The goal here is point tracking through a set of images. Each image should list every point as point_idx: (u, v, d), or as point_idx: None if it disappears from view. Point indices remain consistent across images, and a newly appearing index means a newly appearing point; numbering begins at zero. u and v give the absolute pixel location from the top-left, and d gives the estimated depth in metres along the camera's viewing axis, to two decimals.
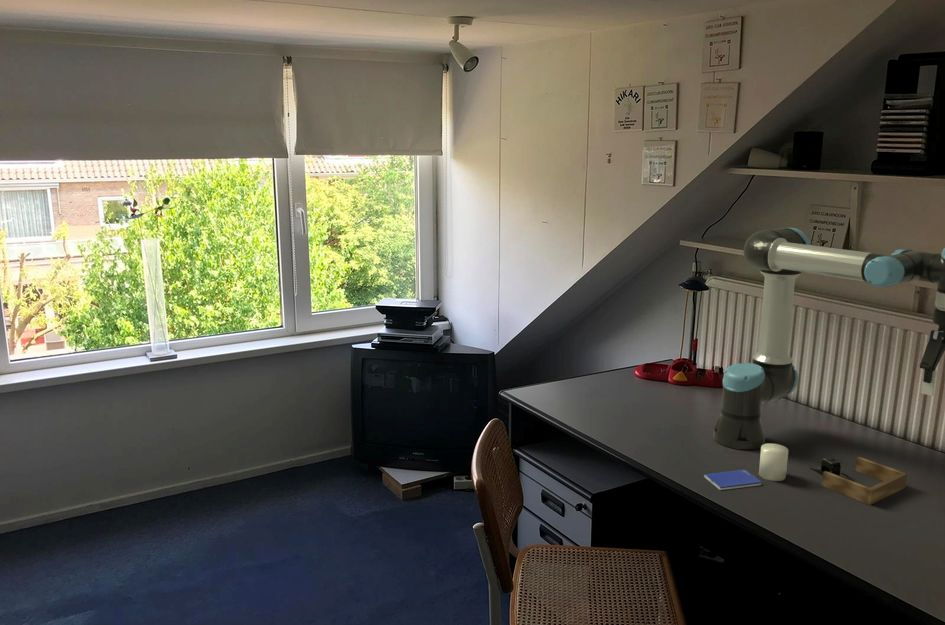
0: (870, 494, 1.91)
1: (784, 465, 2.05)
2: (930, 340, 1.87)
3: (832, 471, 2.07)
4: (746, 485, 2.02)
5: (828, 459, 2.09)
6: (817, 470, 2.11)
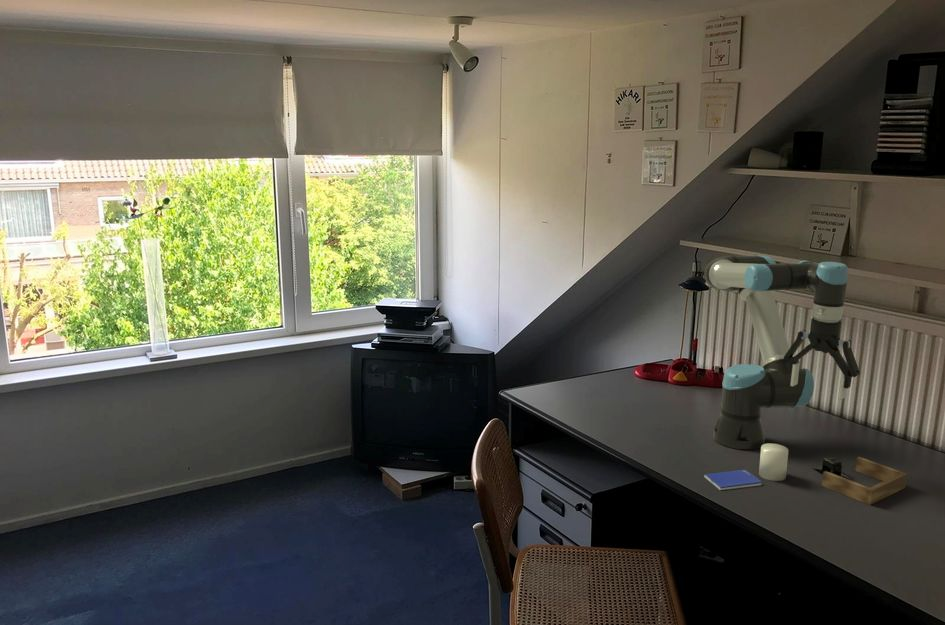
0: (870, 494, 1.91)
1: (784, 465, 2.05)
2: None
3: (833, 471, 2.07)
4: (746, 485, 2.02)
5: (829, 459, 2.09)
6: (818, 470, 2.11)
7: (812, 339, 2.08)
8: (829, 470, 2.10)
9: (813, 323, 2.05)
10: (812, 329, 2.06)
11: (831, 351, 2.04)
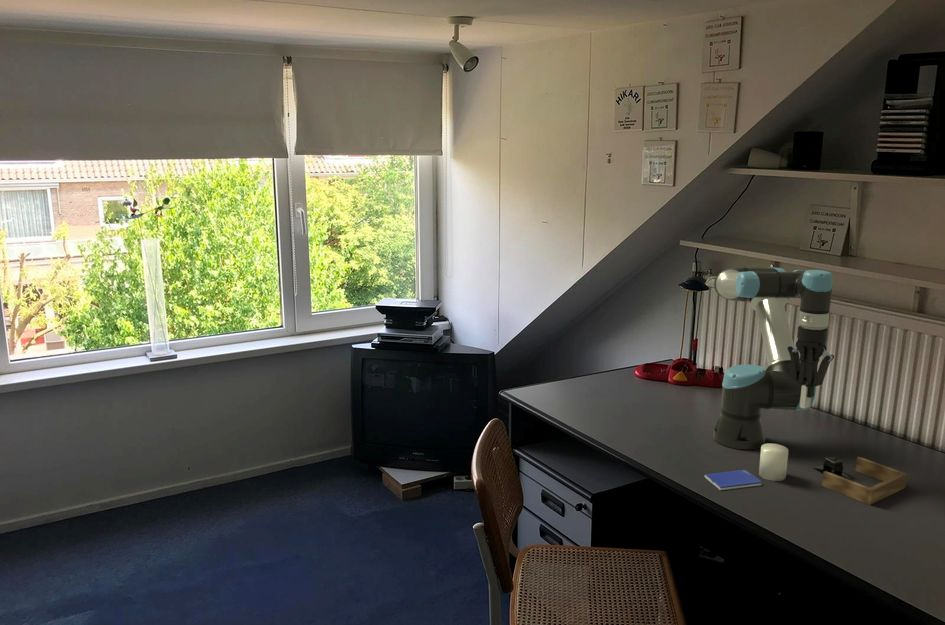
0: (870, 494, 1.91)
1: (784, 465, 2.05)
2: None
3: (834, 470, 2.07)
4: (746, 485, 2.02)
5: (830, 458, 2.09)
6: (819, 469, 2.11)
7: (799, 346, 2.10)
8: (830, 470, 2.10)
9: (799, 330, 2.08)
10: (798, 336, 2.08)
11: (811, 359, 2.07)
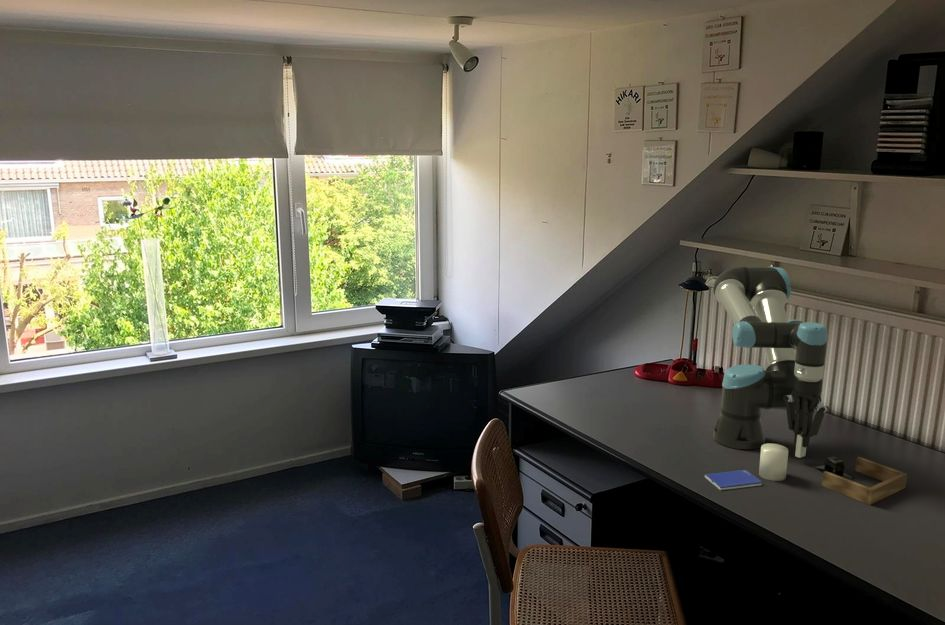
0: (870, 494, 1.91)
1: (784, 465, 2.05)
2: None
3: (836, 470, 2.07)
4: (746, 485, 2.02)
5: (831, 458, 2.09)
6: (821, 469, 2.11)
7: (795, 397, 2.14)
8: (831, 469, 2.10)
9: (794, 381, 2.11)
10: (793, 387, 2.11)
11: (806, 410, 2.11)
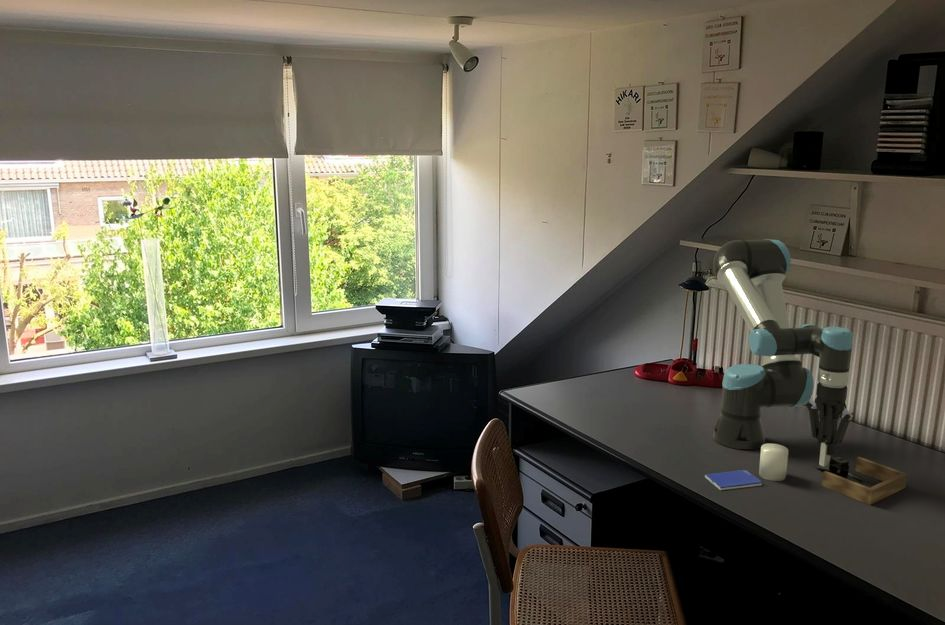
0: (870, 494, 1.91)
1: (784, 465, 2.05)
2: None
3: (840, 471, 2.06)
4: (746, 485, 2.02)
5: (836, 459, 2.09)
6: (825, 470, 2.11)
7: (819, 403, 2.08)
8: (836, 470, 2.09)
9: (818, 388, 2.05)
10: (817, 393, 2.05)
11: (830, 417, 2.05)
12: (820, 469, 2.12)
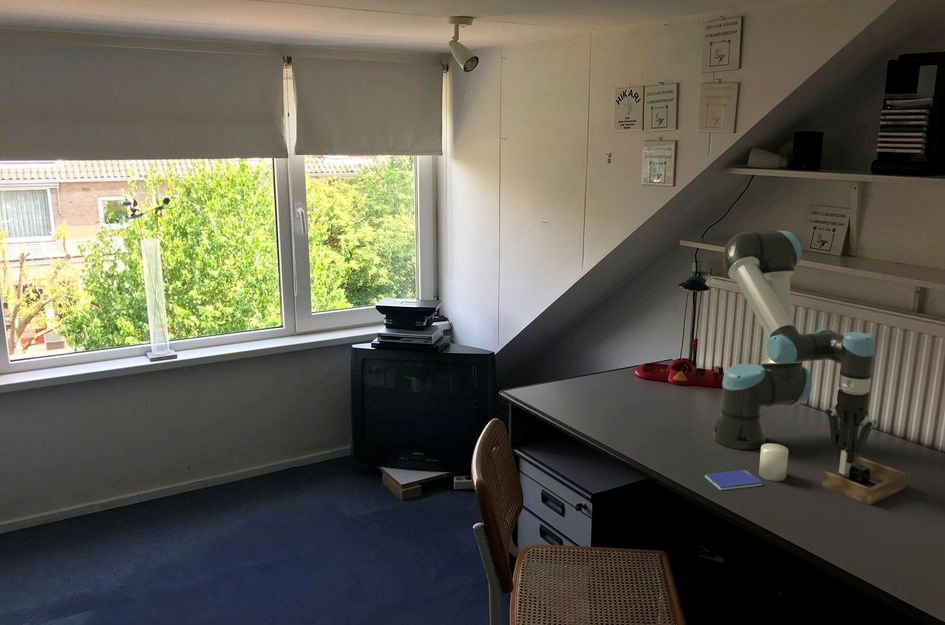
0: (870, 494, 1.91)
1: (784, 465, 2.05)
2: None
3: (863, 478, 2.02)
4: (747, 485, 2.02)
5: (857, 466, 2.04)
6: (845, 477, 2.06)
7: (839, 410, 2.03)
8: (856, 477, 2.05)
9: (839, 394, 2.00)
10: (838, 400, 2.01)
11: (851, 425, 2.00)
12: None
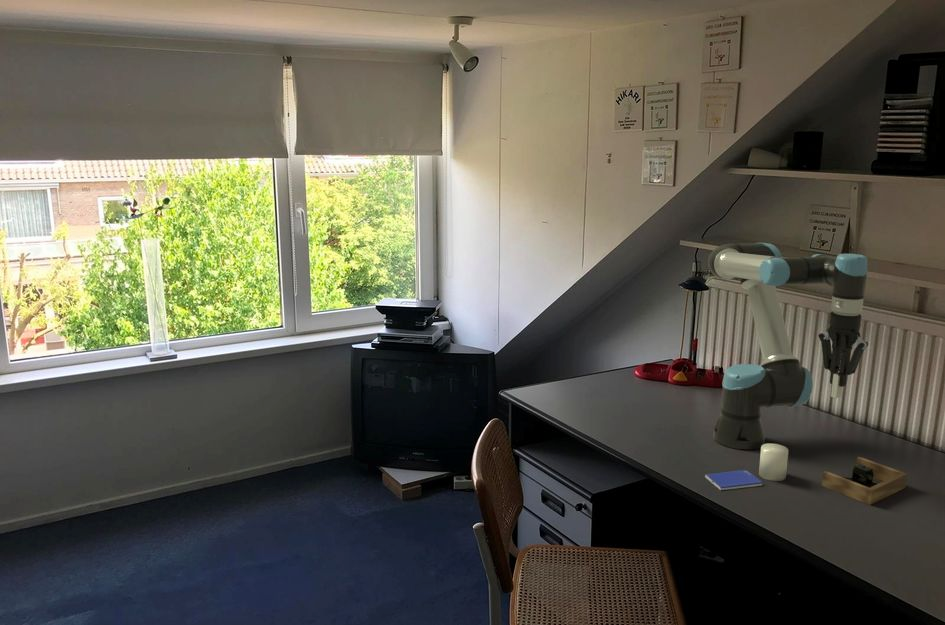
0: (870, 494, 1.91)
1: (784, 465, 2.05)
2: None
3: (866, 479, 2.02)
4: (747, 485, 2.02)
5: (860, 466, 2.04)
6: (848, 478, 2.06)
7: (831, 333, 2.02)
8: (859, 478, 2.05)
9: (831, 316, 1.99)
10: (830, 323, 2.00)
11: (844, 347, 1.99)
12: None
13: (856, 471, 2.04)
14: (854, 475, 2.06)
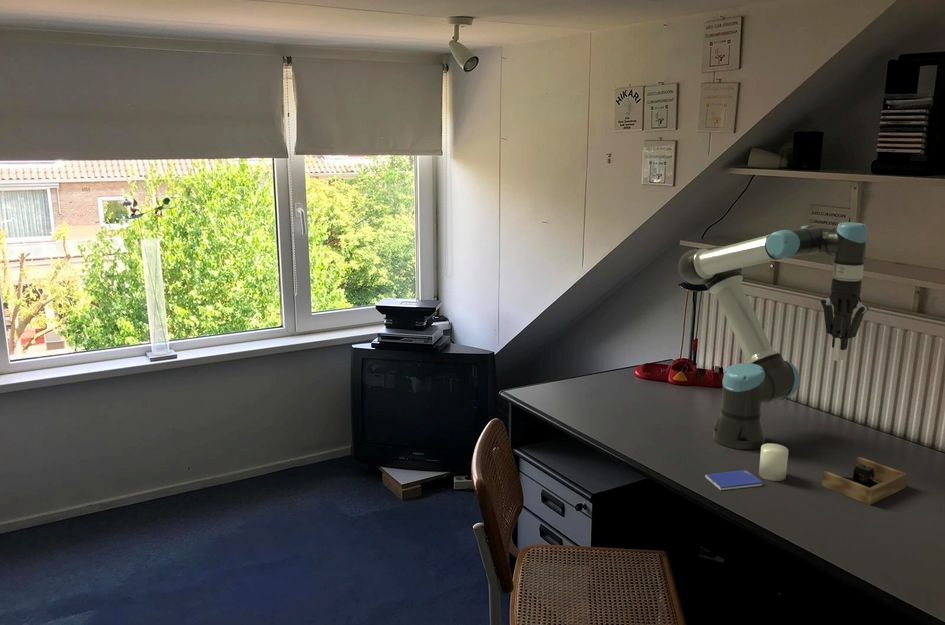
0: (870, 494, 1.91)
1: (784, 465, 2.05)
2: None
3: (868, 478, 2.02)
4: (747, 485, 2.02)
5: (860, 466, 2.04)
6: (849, 478, 2.06)
7: (833, 299, 2.12)
8: (860, 477, 2.05)
9: (833, 282, 2.09)
10: (832, 288, 2.10)
11: (845, 311, 2.09)
12: None
13: (857, 471, 2.04)
14: (855, 475, 2.06)
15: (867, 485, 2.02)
